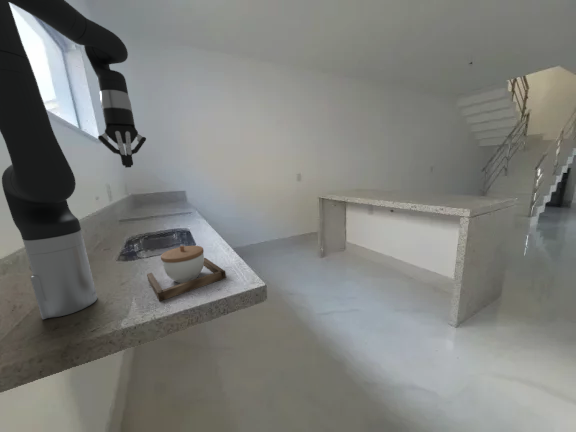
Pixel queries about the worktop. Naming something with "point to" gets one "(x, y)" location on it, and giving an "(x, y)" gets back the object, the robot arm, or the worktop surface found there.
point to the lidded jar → (183, 263)
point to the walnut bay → (187, 286)
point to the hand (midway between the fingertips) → (128, 167)
